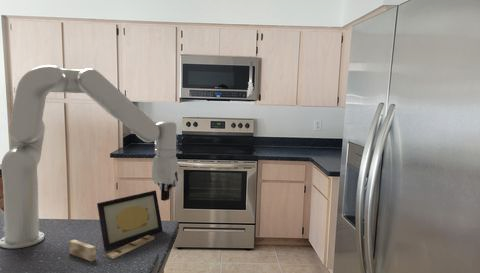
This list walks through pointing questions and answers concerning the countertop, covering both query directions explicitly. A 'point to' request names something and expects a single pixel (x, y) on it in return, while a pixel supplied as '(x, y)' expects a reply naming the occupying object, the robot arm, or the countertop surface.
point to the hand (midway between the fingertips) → (165, 199)
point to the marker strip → (129, 247)
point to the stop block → (82, 250)
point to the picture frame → (129, 218)
